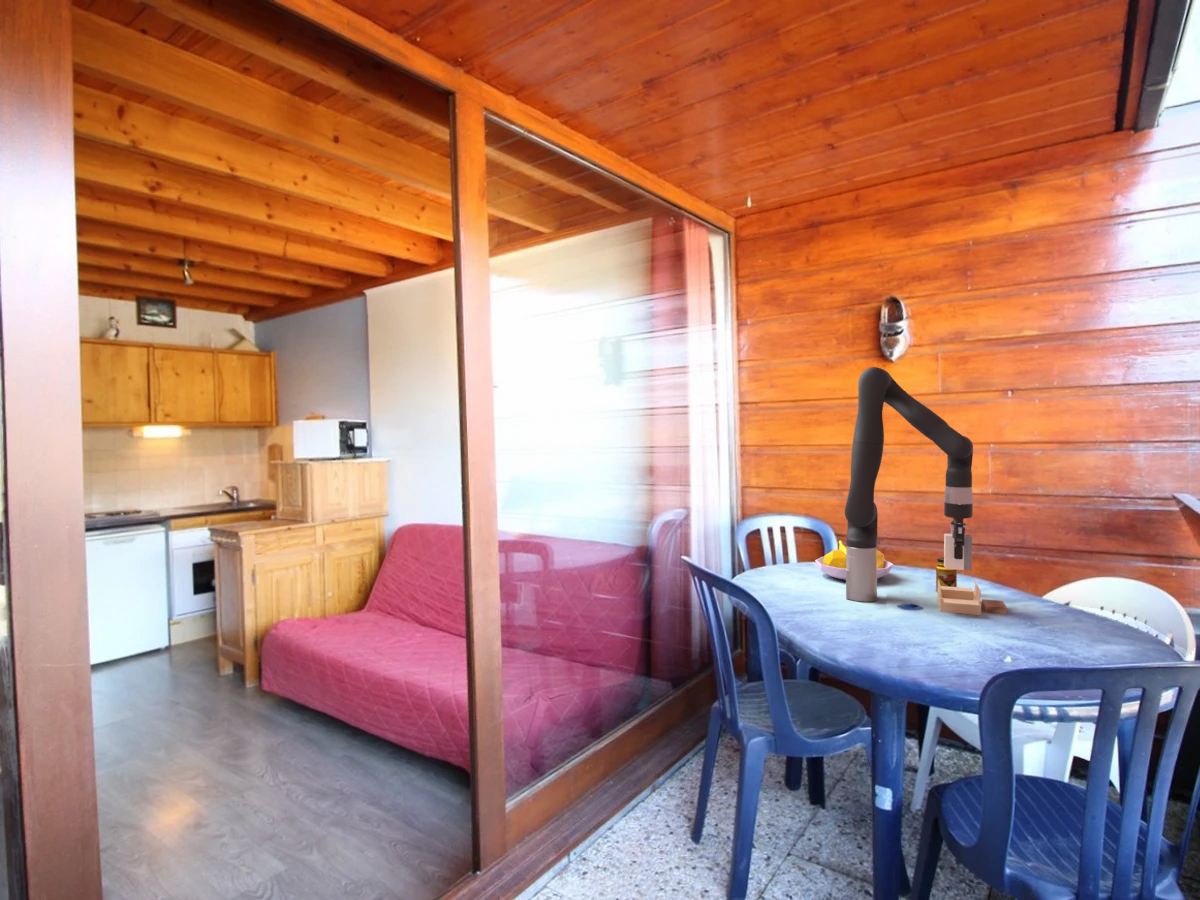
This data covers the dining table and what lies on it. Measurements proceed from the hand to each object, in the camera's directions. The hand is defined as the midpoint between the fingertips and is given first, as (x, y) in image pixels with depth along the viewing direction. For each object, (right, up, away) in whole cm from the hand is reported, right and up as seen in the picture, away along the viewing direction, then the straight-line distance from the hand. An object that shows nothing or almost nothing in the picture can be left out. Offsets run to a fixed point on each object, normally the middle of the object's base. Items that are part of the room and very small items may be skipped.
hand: (957, 557), depth 196 cm
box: (0, -3, 0) cm, 3 cm away
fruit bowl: (-14, -15, +45) cm, 50 cm away
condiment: (+6, -16, +19) cm, 25 cm away
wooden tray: (0, -16, 0) cm, 16 cm away
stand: (+10, -16, -3) cm, 19 cm away
